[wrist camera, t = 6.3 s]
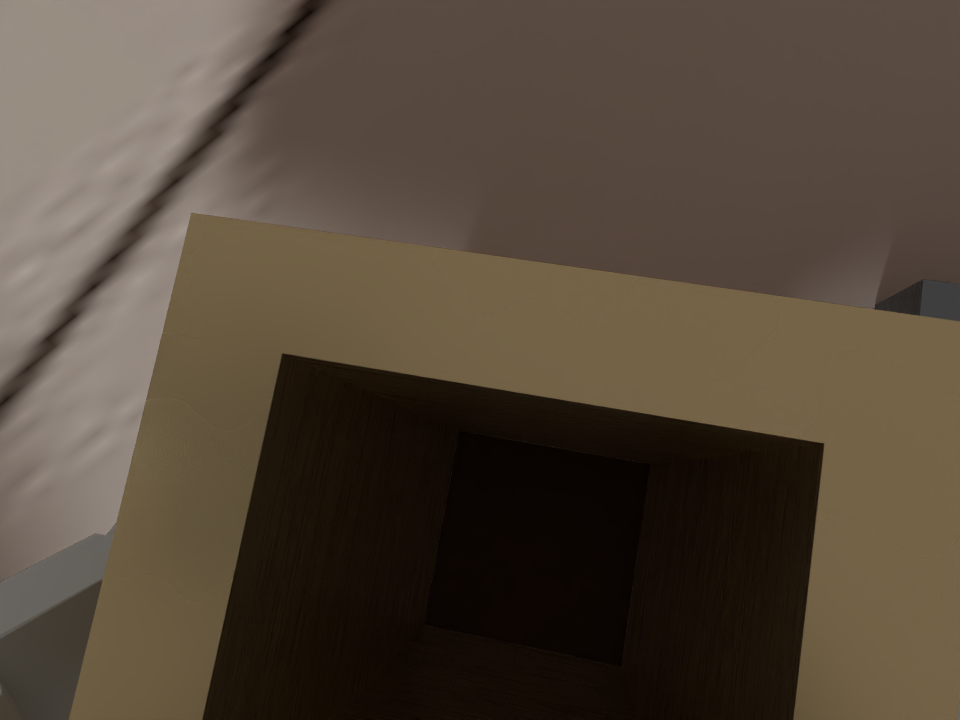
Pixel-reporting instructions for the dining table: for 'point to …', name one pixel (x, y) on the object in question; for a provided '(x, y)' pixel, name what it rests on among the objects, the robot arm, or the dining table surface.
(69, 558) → the robot arm
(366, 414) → the sleeve
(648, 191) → the dining table surface
